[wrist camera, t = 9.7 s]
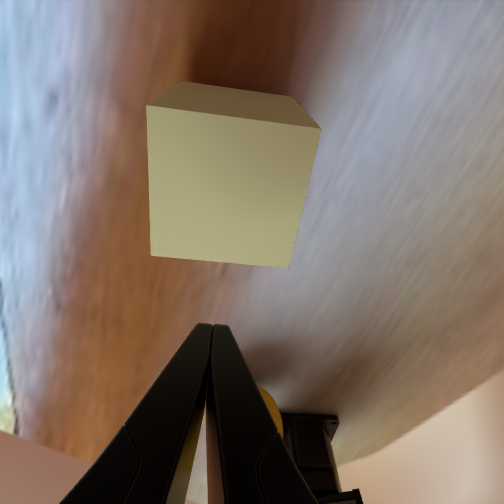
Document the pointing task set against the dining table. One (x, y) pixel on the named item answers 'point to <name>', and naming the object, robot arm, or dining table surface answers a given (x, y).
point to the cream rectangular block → (227, 173)
